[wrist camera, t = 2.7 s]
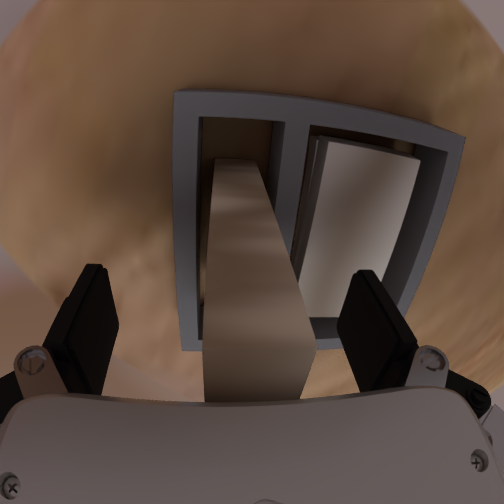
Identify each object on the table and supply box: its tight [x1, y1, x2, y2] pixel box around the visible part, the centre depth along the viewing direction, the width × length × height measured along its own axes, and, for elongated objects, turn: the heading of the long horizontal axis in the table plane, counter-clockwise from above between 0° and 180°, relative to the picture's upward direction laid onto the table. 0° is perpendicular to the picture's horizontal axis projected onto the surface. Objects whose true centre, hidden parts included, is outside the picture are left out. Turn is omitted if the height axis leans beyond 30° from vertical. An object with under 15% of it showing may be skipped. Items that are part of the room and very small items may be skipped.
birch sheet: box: [202, 158, 318, 402], centre depth 12 cm, size 2×7×12 cm, turn 175°
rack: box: [172, 89, 466, 351], centre depth 16 cm, size 14×14×3 cm
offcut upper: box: [293, 135, 421, 317], centre depth 16 cm, size 5×10×2 cm, turn 173°
